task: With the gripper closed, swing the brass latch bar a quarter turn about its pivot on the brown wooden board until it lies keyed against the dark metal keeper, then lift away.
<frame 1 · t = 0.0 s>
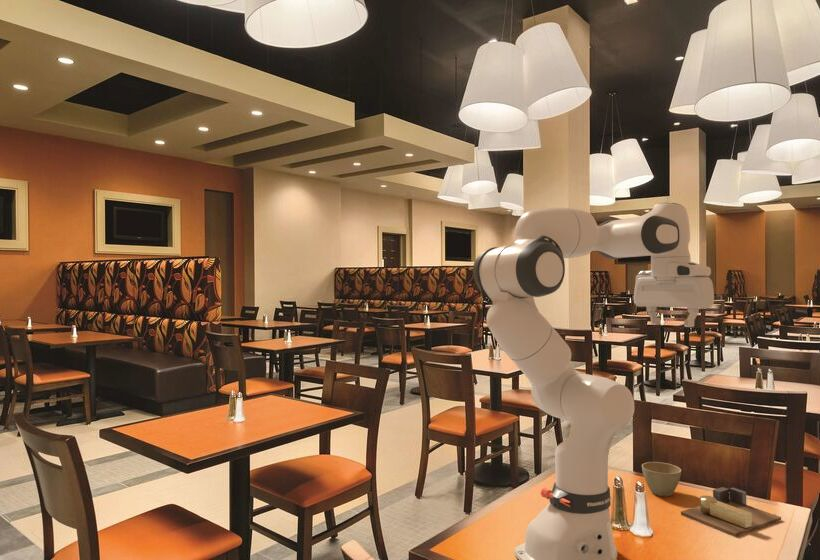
hand: (671, 325, 135), 48 cm above the table, fingers open, 8 cm apart
brown wooden board: (730, 517, 136), on the table
latch bar: (724, 510, 134), point 3 cm above the table, hinge at -90.0°
flower pot: (661, 493, 153), on the table
keeper: (723, 506, 143), resting on brown wooden board
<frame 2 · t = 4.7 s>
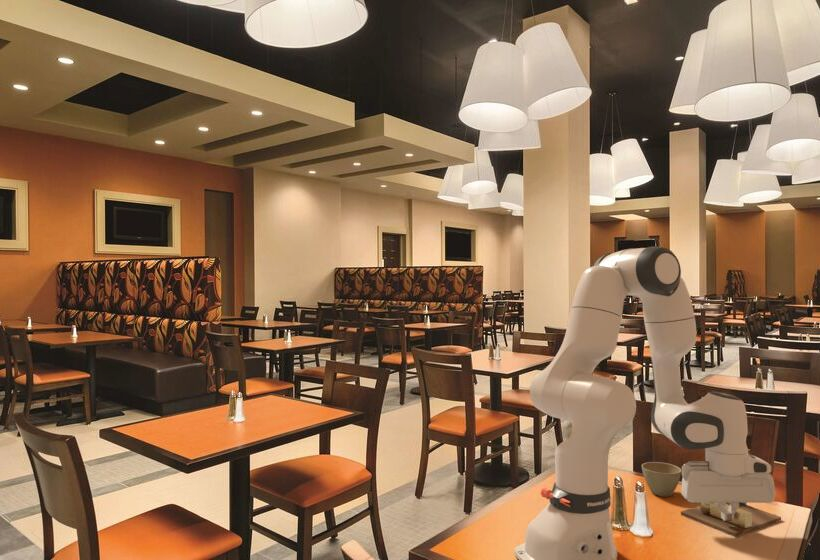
hand: (727, 519, 130), 2 cm above the table, fingers closed
latch bar: (724, 510, 134), point 3 cm above the table, hinge at -90.0°, touching gripper
everything else where it was.
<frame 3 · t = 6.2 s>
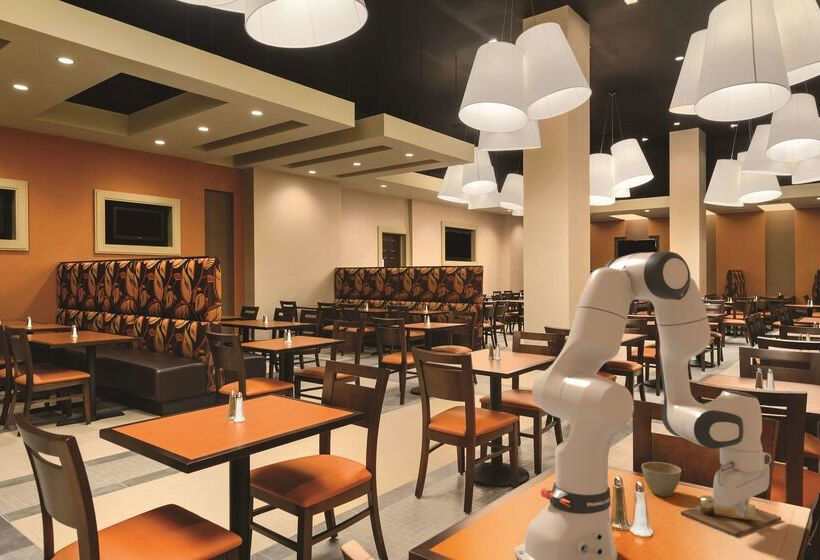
hand: (741, 516, 132), 2 cm above the table, fingers closed, pressing on latch bar
latch bar: (727, 507, 135), point 3 cm above the table, hinge at -56.2°, touching gripper
everything else where it was.
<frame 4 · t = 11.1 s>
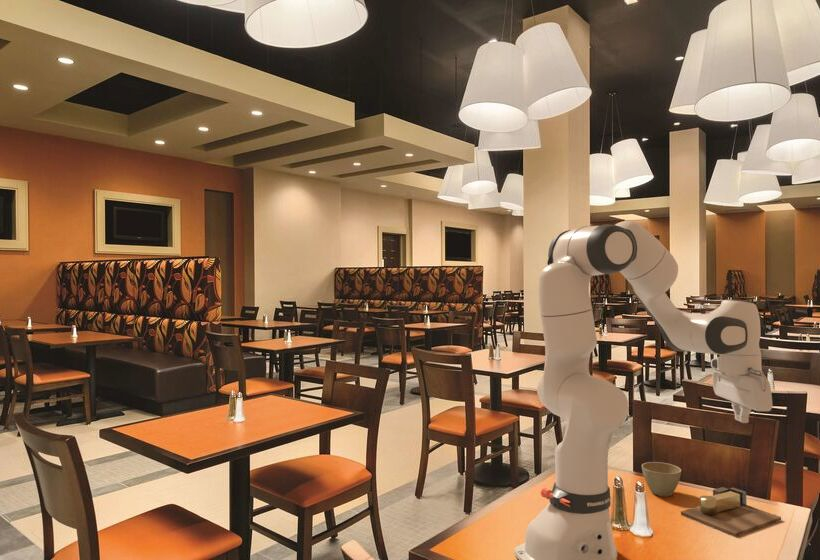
hand: (741, 421, 135), 24 cm above the table, fingers closed
latch bar: (719, 502, 139), point 3 cm above the table, hinge at -3.1°
everything else where it was.
at the end: latch bar at -3° (first picture: -90°) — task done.
